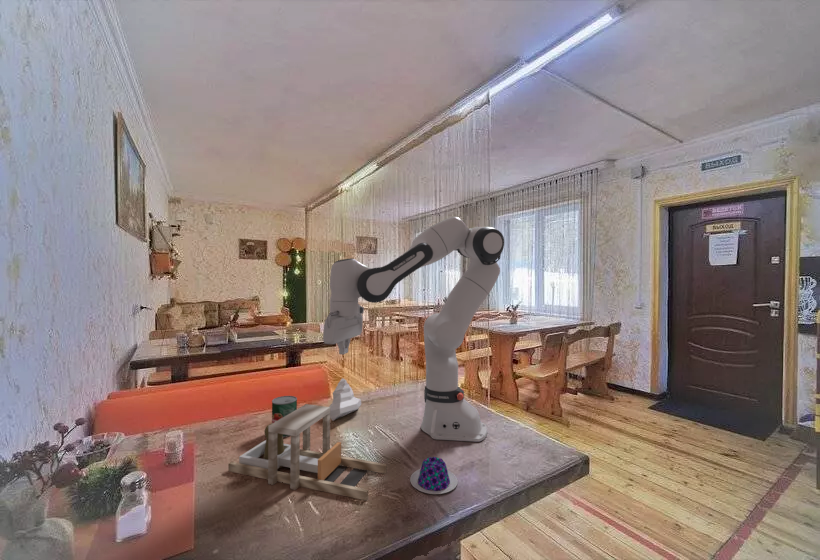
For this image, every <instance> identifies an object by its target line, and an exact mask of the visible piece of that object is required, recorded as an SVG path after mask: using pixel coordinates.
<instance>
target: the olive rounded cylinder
mask: <svg viewBox="0 0 820 560" xmlns="http://www.w3.org/2000/svg"><path fill="white" fill-rule="evenodd" d="M271 424H272V422H271V423H269V424H267V425H266V426H265V428H264V431H263V432H264V436H265V438H266V446H265V453H264V454H263V459H266V460H268V426H269V425H271ZM284 444H285V443H284V438H283V434H279V433H277V455H280V454H282V453H283V452H284ZM281 467H282V468H283V467H284V466H280V467H279V468H278V469H277V470H279V469H282V468H281Z"/></svg>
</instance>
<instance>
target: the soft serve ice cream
mask: <svg viewBox="0 0 820 560" xmlns="http://www.w3.org/2000/svg"><path fill="white" fill-rule="evenodd" d="M347 381H348V380H346V379H345V378H343V377H342V378H340V381H339V382H338V383H337V385H336V387H335V389H334V391H333V392H332V402H331V404H330V405H329V406H328V407H330V420H332V421H335V420H337V419H340V418H342V417H344V416H347V415H349V414H351V413H353V412H355V411H357V410H359V408H360V407H361V405H362V400H361V398H357V397H355V394H354V391H353V388H352V387H351V386H350V384H349V383H348V382H347Z"/></svg>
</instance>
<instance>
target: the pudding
mask: <svg viewBox="0 0 820 560" xmlns="http://www.w3.org/2000/svg"><path fill="white" fill-rule="evenodd" d="M409 481H410V484H411V485H412V487H414V489H416V490H418V491H419V492H422V493H425V494H428V495H429V494H430V495H441V494H446V493H449V492H451V491H453V490H455V488H456V487H457V485H458V482H459V481H458V478H457V476H456V475H455V473H454V472H452V471H450V470H449V469H448V467H447V464H446V462H445V461H444V460H443V459H442V458H440V457H437V456H433V457H431V456H430V457H427V458H426V459H423V461H422V463H421V466H420V468H419V469H417V470H415V471H414V472H413V473H412V474H411V475H410V478H409Z"/></svg>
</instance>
